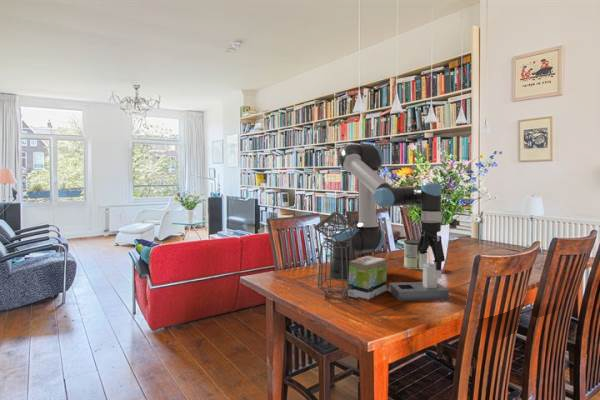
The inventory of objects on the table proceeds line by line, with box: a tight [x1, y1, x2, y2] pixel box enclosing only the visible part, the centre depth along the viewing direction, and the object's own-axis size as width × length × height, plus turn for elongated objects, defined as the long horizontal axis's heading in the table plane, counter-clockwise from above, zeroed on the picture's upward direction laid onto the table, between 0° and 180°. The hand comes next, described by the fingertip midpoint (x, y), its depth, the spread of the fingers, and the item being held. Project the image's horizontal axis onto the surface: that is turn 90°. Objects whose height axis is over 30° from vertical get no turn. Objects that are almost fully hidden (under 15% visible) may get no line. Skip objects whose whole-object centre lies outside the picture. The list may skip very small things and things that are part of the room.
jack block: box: [388, 281, 450, 302], centre depth 153 cm, size 20×12×4 cm, turn 94°
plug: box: [422, 262, 438, 288], centre depth 153 cm, size 4×4×13 cm
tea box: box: [347, 255, 388, 300], centre depth 156 cm, size 15×10×15 cm, turn 140°
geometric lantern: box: [312, 211, 358, 300], centre depth 155 cm, size 16×16×35 cm
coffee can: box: [403, 238, 421, 270], centre depth 202 cm, size 10×10×14 cm
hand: (430, 273), depth 153 cm, fingers open, 13 cm apart
